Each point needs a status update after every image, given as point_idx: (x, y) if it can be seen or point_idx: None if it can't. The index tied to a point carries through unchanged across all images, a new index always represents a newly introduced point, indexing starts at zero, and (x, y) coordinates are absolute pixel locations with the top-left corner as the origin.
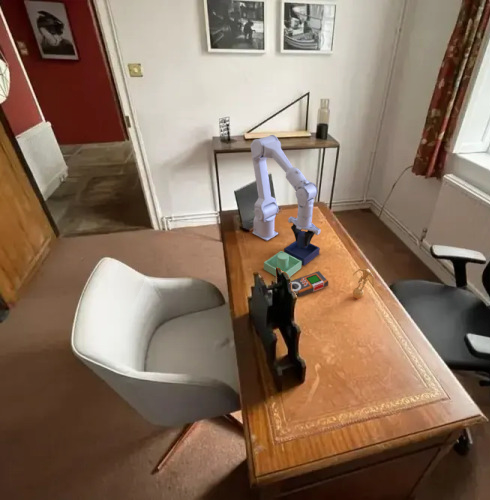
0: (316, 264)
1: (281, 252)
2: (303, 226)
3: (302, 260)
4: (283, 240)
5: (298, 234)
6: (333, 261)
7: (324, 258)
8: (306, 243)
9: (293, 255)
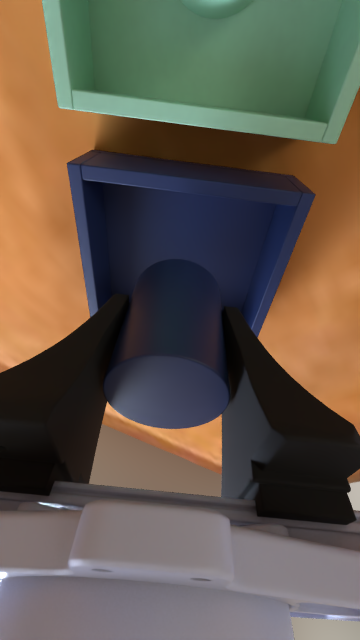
0: (49, 224)
1: (323, 123)
2: (36, 616)
3: (95, 159)
4: (346, 313)
5: (206, 369)
6: (14, 299)
7: (62, 296)
8: (101, 308)
9: (198, 173)
